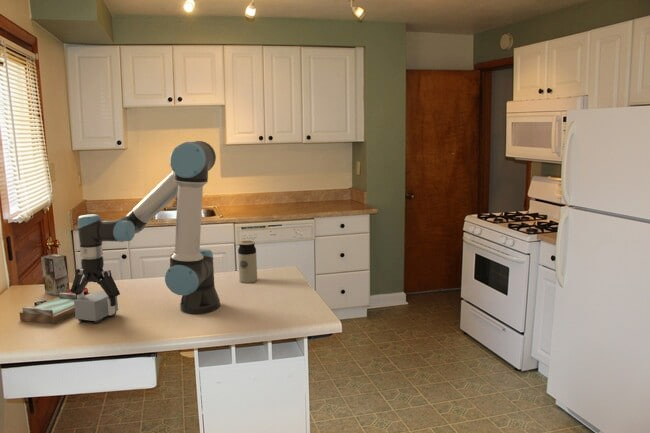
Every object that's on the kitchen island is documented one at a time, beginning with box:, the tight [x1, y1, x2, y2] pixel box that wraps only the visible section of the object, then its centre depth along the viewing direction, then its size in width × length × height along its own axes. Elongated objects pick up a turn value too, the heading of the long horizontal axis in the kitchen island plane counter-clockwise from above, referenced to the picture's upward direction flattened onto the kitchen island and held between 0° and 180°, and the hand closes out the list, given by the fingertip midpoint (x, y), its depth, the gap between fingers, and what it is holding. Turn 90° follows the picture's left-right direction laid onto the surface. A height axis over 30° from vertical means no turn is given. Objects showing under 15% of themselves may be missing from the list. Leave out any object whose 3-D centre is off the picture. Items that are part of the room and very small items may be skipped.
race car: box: [66, 286, 89, 295], centre depth 231 cm, size 13×5×4 cm, turn 163°
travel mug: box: [237, 239, 258, 284], centre depth 249 cm, size 8×8×18 cm
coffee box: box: [40, 253, 71, 296], centre depth 237 cm, size 9×6×16 cm
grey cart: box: [74, 290, 119, 324], centre depth 205 cm, size 9×12×8 cm
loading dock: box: [18, 293, 85, 325], centre depth 211 cm, size 16×19×5 cm
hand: (96, 312), depth 205 cm, fingers open, 13 cm apart
